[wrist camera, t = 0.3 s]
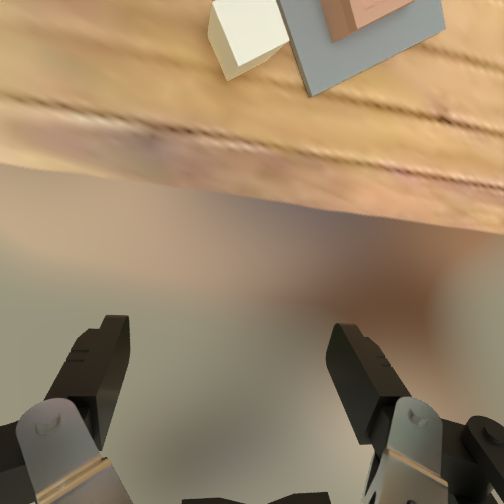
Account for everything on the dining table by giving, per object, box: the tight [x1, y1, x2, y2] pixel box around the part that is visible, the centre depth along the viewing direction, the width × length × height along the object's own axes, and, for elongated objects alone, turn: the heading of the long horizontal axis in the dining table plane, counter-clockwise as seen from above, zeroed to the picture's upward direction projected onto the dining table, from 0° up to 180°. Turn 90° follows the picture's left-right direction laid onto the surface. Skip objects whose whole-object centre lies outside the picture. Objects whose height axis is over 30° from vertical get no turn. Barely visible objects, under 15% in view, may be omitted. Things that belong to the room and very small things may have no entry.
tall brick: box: [207, 0, 290, 81], centre depth 29 cm, size 4×4×10 cm
